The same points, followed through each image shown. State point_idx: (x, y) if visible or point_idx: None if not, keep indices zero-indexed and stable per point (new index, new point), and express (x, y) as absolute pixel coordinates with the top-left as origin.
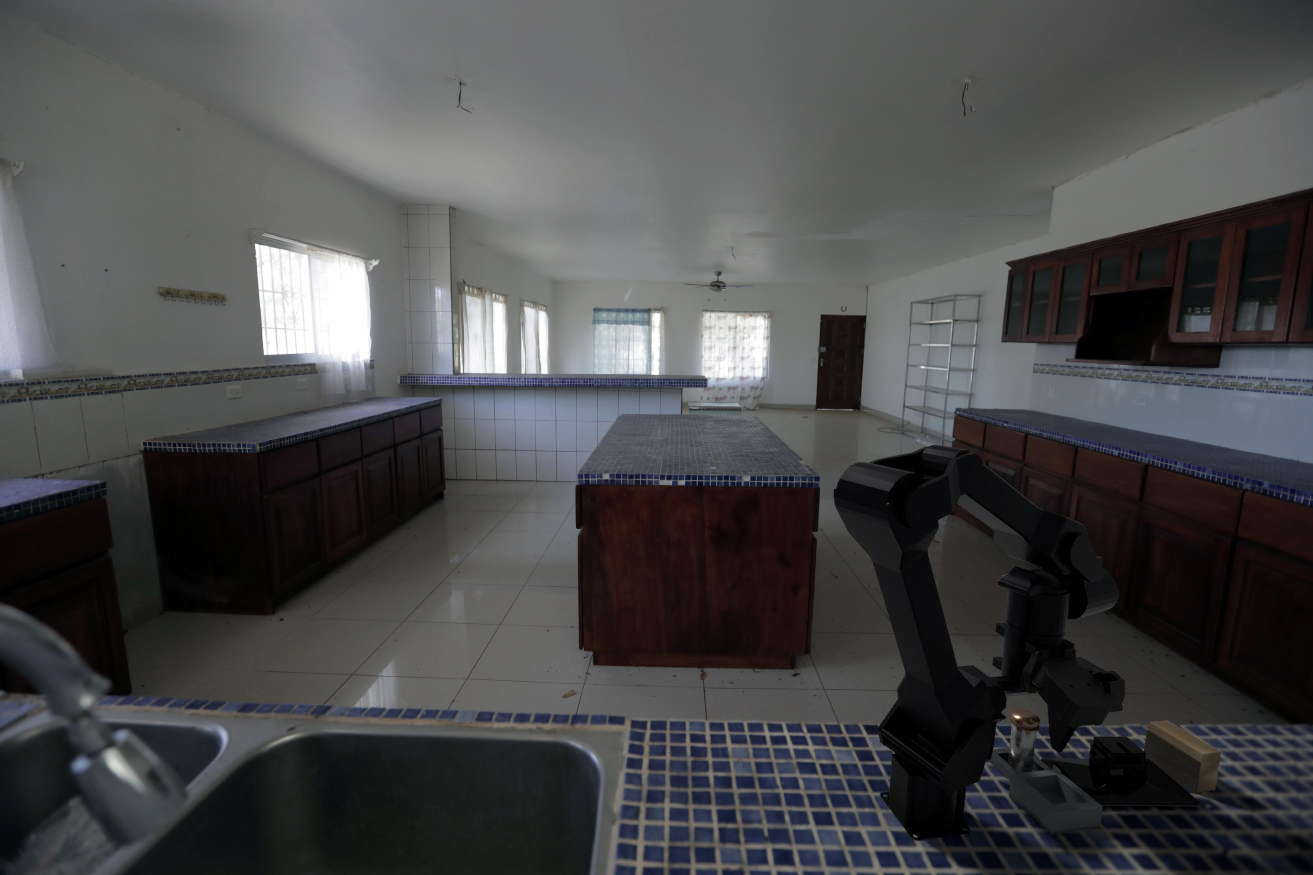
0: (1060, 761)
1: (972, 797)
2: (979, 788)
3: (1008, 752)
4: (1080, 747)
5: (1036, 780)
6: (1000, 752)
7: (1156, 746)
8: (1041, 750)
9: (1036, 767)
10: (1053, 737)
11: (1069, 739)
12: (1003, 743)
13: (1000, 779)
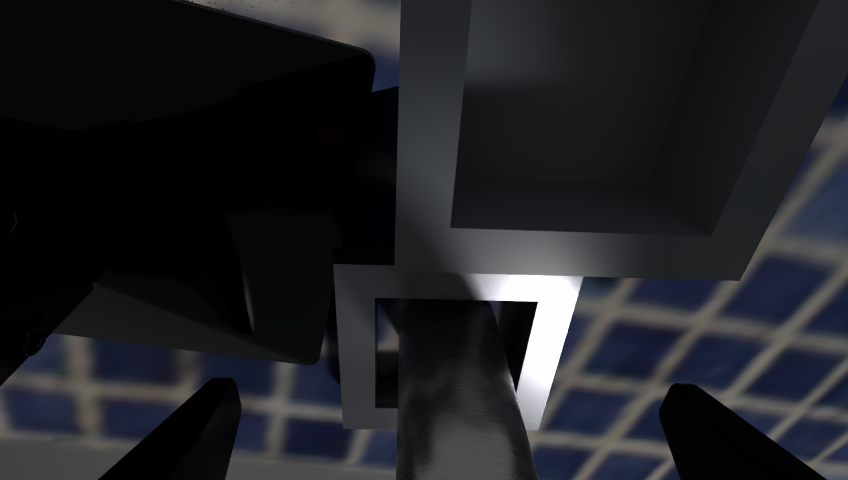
0: (237, 334)
1: (836, 229)
2: None
3: None
4: (38, 392)
5: (597, 219)
6: None
7: None
8: (244, 399)
9: (376, 325)
10: (218, 468)
11: (131, 452)
12: (377, 442)
13: (590, 297)
